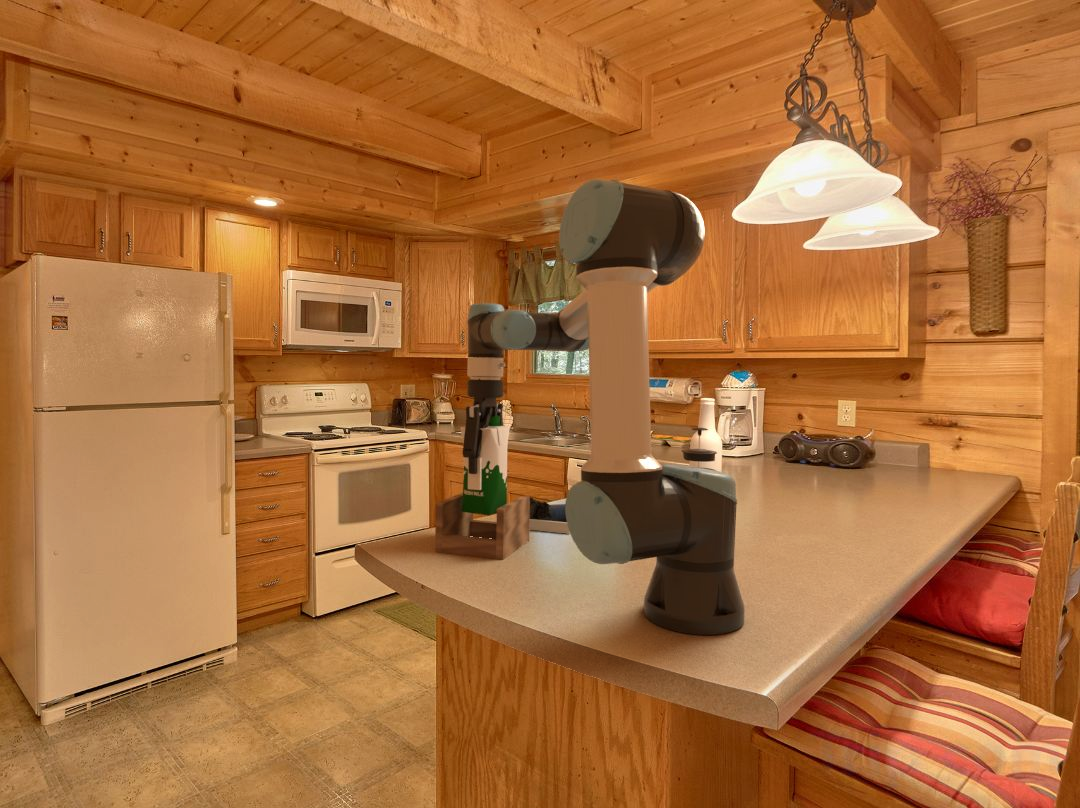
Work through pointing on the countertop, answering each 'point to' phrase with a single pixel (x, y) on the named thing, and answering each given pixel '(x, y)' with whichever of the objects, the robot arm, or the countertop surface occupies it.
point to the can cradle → (548, 526)
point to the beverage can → (547, 511)
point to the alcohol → (707, 436)
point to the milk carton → (488, 471)
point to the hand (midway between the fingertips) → (484, 485)
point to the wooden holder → (481, 529)
